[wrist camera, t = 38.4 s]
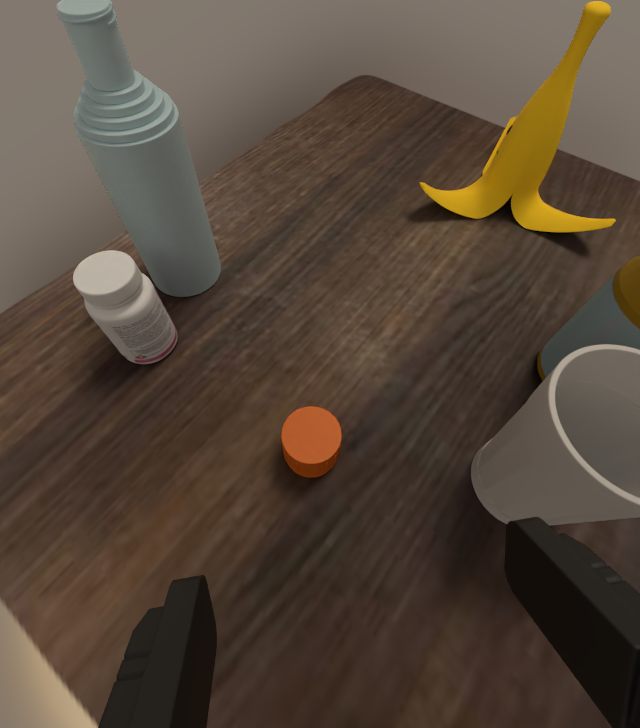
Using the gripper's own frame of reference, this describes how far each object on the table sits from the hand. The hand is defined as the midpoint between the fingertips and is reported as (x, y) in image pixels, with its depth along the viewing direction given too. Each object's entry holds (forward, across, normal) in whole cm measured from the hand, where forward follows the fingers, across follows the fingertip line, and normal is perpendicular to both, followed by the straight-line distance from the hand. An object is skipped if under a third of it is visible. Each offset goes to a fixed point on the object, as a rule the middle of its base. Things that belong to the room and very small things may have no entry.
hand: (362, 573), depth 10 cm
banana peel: (+34, -27, -10) cm, 45 cm away
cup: (+14, -14, +9) cm, 22 cm away
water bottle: (+31, +9, -8) cm, 33 cm away
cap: (+17, 0, +6) cm, 18 cm away
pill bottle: (+26, +12, -2) cm, 29 cm away
